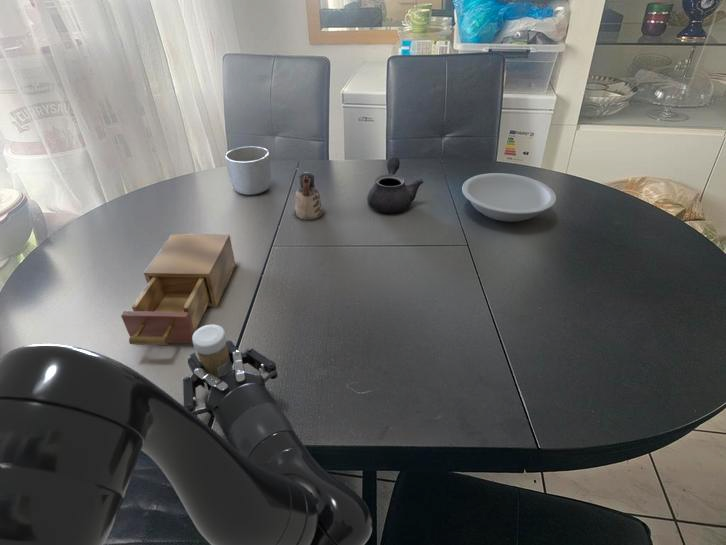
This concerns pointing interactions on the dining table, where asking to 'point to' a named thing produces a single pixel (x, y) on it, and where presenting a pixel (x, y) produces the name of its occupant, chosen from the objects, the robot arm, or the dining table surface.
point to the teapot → (392, 190)
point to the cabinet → (196, 261)
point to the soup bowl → (508, 196)
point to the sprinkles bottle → (212, 350)
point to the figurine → (308, 198)
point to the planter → (249, 169)
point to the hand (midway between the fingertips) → (208, 350)
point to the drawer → (167, 310)
